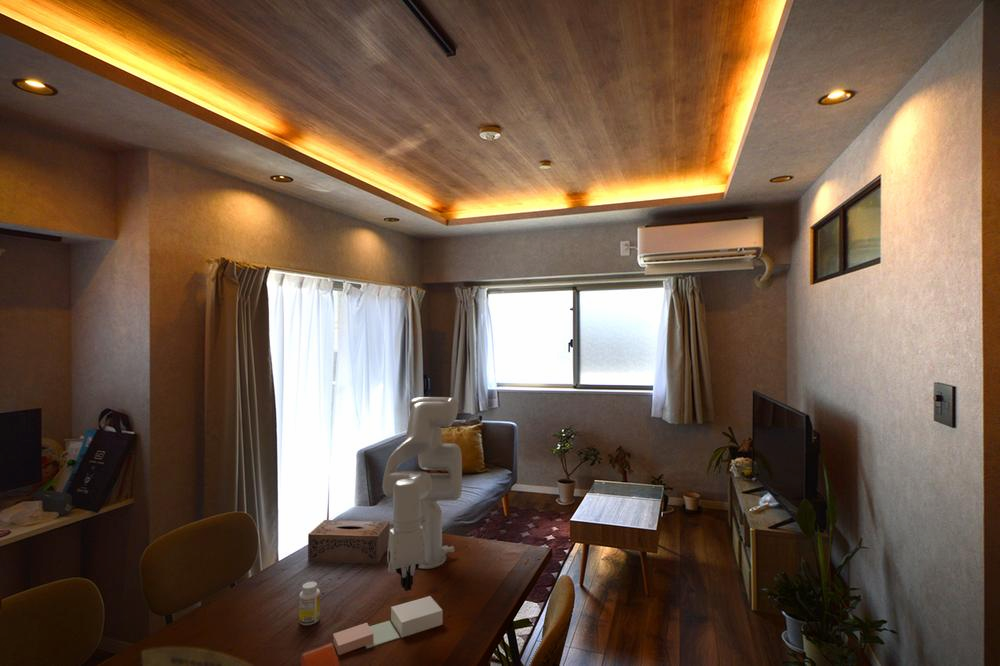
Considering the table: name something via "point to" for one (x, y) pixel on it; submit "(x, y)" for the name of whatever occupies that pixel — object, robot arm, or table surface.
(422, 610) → the white rectangular block
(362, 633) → the pink rectangular block
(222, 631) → the table surface
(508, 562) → the table surface
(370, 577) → the table surface
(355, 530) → the tissue box cover
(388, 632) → the mat
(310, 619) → the supplement bottle
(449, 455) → the robot arm
